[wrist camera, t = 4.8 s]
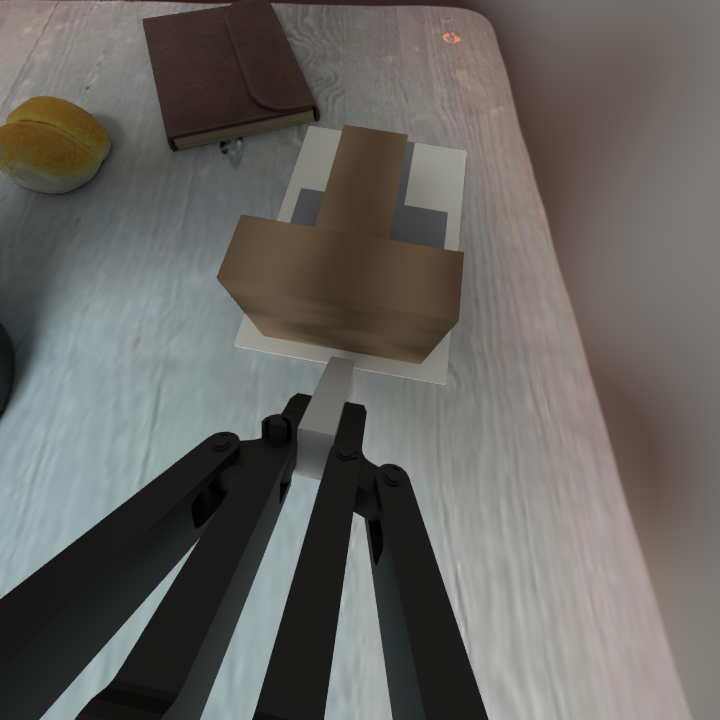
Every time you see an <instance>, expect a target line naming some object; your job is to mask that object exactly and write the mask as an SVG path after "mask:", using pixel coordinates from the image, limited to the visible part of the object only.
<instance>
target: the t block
mask: <svg viewBox="0 0 720 720" xmlns="http://www.w3.org/2000/svg"><path fill="white" fill-rule="evenodd" d="M407 137H408V135H405V134H399V133H392V132H386V131H380V130H374V129H367V128H361V127H355V126H349V125H344V127H343V130H342V134H341V137H340V141H339V144H338V148H337V151H336V154H335V158H334V161H333V165H332V168H331V172H330V175H329V179H328V182H327V186H326V189H325V193H324V196H323V200H322V203H321V206H320V210H319V213H318V217H317V220H316V224H315V227H311V226H305V225H299V224H293V223H287V222H282V221H276V220H270V219H264V218H258V217H252V216H246V215H241V217H240V220H239V222H238V225H237V227H236V230H235V232H234V235H233V237H232V240H231V242H230V245H229V247H228V250H227V253H226V255H225V258H224V260H223V263H222V265H221V268H220V270H219V273H218V275H217V279H218V281H219V282H220V283H221V284H222V285H223V287H224V288H225V289H226V290H227V292H228V293H229V294H230V295H231V297H232V298H233V299H234V300H235V301H236V303H237V304H238V305H239V306H240V308H241V309H242V310H243V311H244V313H245V314H246V315H247V316H248V317H249V319H250V320H251V321H252V322H253V324H254V325H255V326H256V327H257V329H258V330H259V331H260V332H261V333H262V335H263V336H266V337H272V338H277V339H283V340H288V341H294V342H299V343H305V344H310V345H316V346H321V347H327V348H332V349H338V350H343V351H349V352H354V353H360V354H365V355H371V356H376V357H382V358H387V359H393V360H398V361H404V362H409V363H415V364H420V365H421V364H422V362H423V361H424V360H425V359H426V358H427V357H428V356H429V354H430V353H431V352H432V351H433V350H434V349H435V347H436V346H437V345H438V344H439V343H440V342H441V340H442V339H443V338H444V337H445V336H446V335H447V333H448V332H449V331H450V330H451V329H452V328H453V327H454V325H455V324H456V323H457V322H458V320H459V308H460V295H461V283H462V270H463V257H464V252H458V251H452V250H446V249H440V248H435V247H429V246H423V245H417V244H411V243H405V242H399V241H393V240H389V236H390V231H391V225H392V220H393V214H394V209H395V203H396V198H397V192H398V187H399V181H400V176H401V170H402V164H403V159H404V153H405V148H406V142H407Z"/></svg>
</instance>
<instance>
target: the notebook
mask: <svg viewBox="0 0 720 720" xmlns="http://www.w3.org/2000/svg"><path fill="white" fill-rule="evenodd" d="M143 26H144V31H145V36H146V41H147V45H148V50H149V55H150V59H151V64H152V69H153V74H154V78H155V83H156V88H157V93H158V97H159V102H160V107H161V112H162V116H163V121H164V126H165V130H166V135H167V140H168V144H169V146H170V148H171V149H172V150H173V151H174V152H175V151H177V150H181V149H185V148H190V147H195V146H200V145H204V144H209V143H214V142H219V141H224V140H228V139H233V138H238V137H243V136H247V135H252V134H257V133H262V132H266V131H271V130H276V129H281V128H285V127H290V126H295V125H300V124H304V123H309V122H314V121H315V120H314V117H315V119H316V121H319V118H320V113H319V110H318V107H317V105H316V103H315V101H314V98H313V96H312V94H311V92H310V90H309V87H308V85H307V83H306V81H305V78H304V76H303V74H302V72H301V70H300V67H299V65H298V63H297V61H296V59H295V56H294V54H293V52H292V50H291V47H290V45H289V43H288V41H287V39H286V36H285V34H284V32H283V30H282V27H281V25H280V23H279V21H278V19H277V16H276V14H275V12H274V10H273V7H272V5H271V3H270V1H269V0H241V1H238V2H235V3H233V4H231V5H230V6H224V7H217V8H211V9H204V10H198V11H191V12H185V13H178V14H172V15H165V16H159V17H152V18H146V19H143ZM313 115H314V116H313ZM176 149H177V150H176Z"/></svg>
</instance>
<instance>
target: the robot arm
mask: <svg viewBox="0 0 720 720" xmlns="http://www.w3.org/2000/svg"><path fill="white" fill-rule="evenodd" d="M0 161H1V142H0ZM13 362H14V361H13V352H12V347H11V343H10V340H9V338H8V336H7V334H6V332H5V330H4V329H3V327H2V326H1V325H0V412H1V410H2V408H3V405H4V403H5V401H6V398H7V395H8V393H9V389H10V386H11V381H12V376H13ZM354 366H355V361H354V360H349V359H344V358H339V357H333V356H331V358H330V360H329V362H328V364H327V366H326V369H325V371H324V373H323V375H322V377H321V379H320V381H319V384H318V386H317V388H316V390H315V392H314V394H313V396H310V395H305V394H300V393H297V394H296V395H294V396H293V397H291V398H290V400H289V402H288V404H287V406H286V407H285V409H284V411H283V412H282V414H275V415H271V416H268V417H266V418H265V419H264V420H263V421H262V438H260V439H256V440H245V441H240V440H239V437H238V436H237V435H236V434H234V433H231V432H220V433H216V434H213V435H212V436H210V437H208V438H207V439H206V440H204V441H203V442H202V443H200V444H199V445H198V446H197V447H195V448H194V449H193V450H191V451H190V452H189V453H188V454H186V455H185V456H184V457H182V458H181V459H180V460H179V461H177V462H176V463H175V464H173V465H172V466H171V467H170V468H168V469H167V470H166V471H164V472H163V473H162V474H161V475H159V476H158V477H157V478H155V479H154V480H153V481H152V482H150V483H149V484H148V485H146V486H145V487H144V488H143V489H141V490H140V491H139V492H137V493H136V494H135V495H134V496H132V497H131V498H130V499H128V500H127V501H126V502H125V503H123V504H122V505H121V506H119V507H118V508H117V509H116V510H114V511H113V512H112V513H110V514H109V515H108V516H107V517H105V518H104V519H103V520H101V521H100V522H99V523H98V524H96V525H95V526H94V527H92V528H91V529H90V530H89V531H87V532H86V533H85V534H84V535H82V536H81V537H80V538H78V539H77V540H76V541H75V542H73V543H72V544H71V545H69V546H68V547H67V548H66V549H64V550H63V551H62V552H60V553H59V554H58V555H57V556H55V557H54V558H53V559H51V560H50V561H49V562H48V563H46V564H45V565H44V566H42V567H41V568H40V569H39V570H37V571H36V572H35V573H33V574H32V575H31V576H30V577H28V578H27V579H26V580H24V581H23V582H22V583H21V584H19V585H18V586H17V587H15V588H14V589H13V590H12V591H10V592H9V593H8V594H6V595H5V596H4V597H3V598H1V599H0V720H39V719H40V718H41V717H42V716H43V715H44V714H45V713H46V711H47V710H48V709H49V708H50V707H51V706H52V705H53V703H54V702H55V701H56V700H57V699H58V698H59V697H60V696H61V694H62V693H63V692H64V691H65V690H66V689H67V688H68V687H69V685H70V684H71V683H72V682H73V681H74V680H75V679H76V677H77V676H78V675H79V674H80V673H81V672H82V671H83V670H84V668H85V667H86V666H87V665H88V664H89V663H90V662H91V661H92V659H93V658H94V657H95V656H96V655H97V654H98V653H99V651H100V650H101V649H102V648H103V647H104V646H105V645H106V644H107V642H108V641H109V640H110V639H111V638H112V637H113V636H114V635H115V633H116V632H117V631H118V630H119V629H120V628H121V627H122V625H123V624H124V623H125V622H126V621H127V620H128V619H129V618H130V616H131V615H132V614H133V613H134V612H135V611H136V610H137V609H138V607H139V606H140V605H141V604H142V603H143V602H144V601H145V599H146V598H147V597H148V596H149V595H150V594H151V593H152V592H153V590H154V589H155V588H156V587H157V586H158V585H159V584H160V583H161V581H162V580H163V579H164V578H165V577H166V576H167V575H168V573H169V572H170V571H171V570H172V569H173V568H174V567H175V566H176V564H177V563H178V562H179V561H180V560H181V559H182V558H183V557H184V555H185V554H186V553H187V552H188V551H189V550H190V549H191V547H192V546H193V545H194V544H195V543H196V542H197V541H198V540H199V541H198V542H197V544H196V546H195V547H194V549H193V551H192V552H191V554H190V555H189V557H188V559H187V560H186V562H185V564H184V565H183V567H182V569H181V570H180V572H179V574H178V575H177V577H176V578H175V580H174V582H173V583H172V585H171V587H170V588H169V590H168V592H167V593H166V595H165V596H164V598H163V600H162V601H161V603H160V605H159V606H158V608H157V610H156V611H155V613H154V614H153V616H152V618H151V619H150V621H149V623H148V624H147V626H146V628H145V629H144V631H143V632H142V634H141V636H140V637H139V639H138V641H137V642H136V644H135V646H134V647H133V649H132V650H131V652H130V654H129V655H128V657H127V659H126V660H125V662H124V664H123V665H122V667H121V668H120V670H119V672H118V673H117V674H116V676H115V677H114V679H113V680H112V681H111V683H110V684H109V685H108V686H107V687H106V688H105V689H103V690H102V691H101V692H100V693H98V694H97V695H96V696H95V697H93V698H92V699H91V700H90V701H89V702H88V704H87V705H86V706H85V707H84V708H83V709H82V710H81V712H80V713H79V714H78V716H77V717H76V718H75V720H200V718H201V715H202V712H203V710H204V707H205V705H206V702H207V700H208V697H209V694H210V692H211V689H212V687H213V684H214V682H215V679H216V676H217V674H218V671H219V669H220V666H221V664H222V661H223V658H224V656H225V653H226V651H227V648H228V646H229V643H230V640H231V638H232V635H233V633H234V630H235V628H236V625H237V622H238V620H239V617H240V615H241V612H242V609H243V607H244V604H245V602H246V599H247V597H248V594H249V591H250V589H251V586H252V584H253V581H254V579H255V576H256V573H257V571H258V568H259V566H260V563H261V561H262V558H263V555H264V553H265V550H266V548H267V545H268V543H269V540H270V537H271V535H272V532H273V530H274V527H275V525H276V522H277V519H278V517H279V514H280V512H281V509H282V507H283V504H284V501H285V499H286V496H287V494H288V491H289V488H290V486H291V478H292V474H293V472H294V469H295V475H299V476H304V477H309V478H314V479H319V480H321V482H320V486H319V489H318V493H317V496H316V500H315V503H314V507H313V510H312V514H311V517H310V521H309V524H308V528H307V531H306V535H305V538H304V542H303V545H302V549H301V552H300V556H299V559H298V563H297V566H296V570H295V573H294V577H293V580H292V584H291V587H290V591H289V595H288V598H287V602H286V605H285V609H284V612H283V616H282V619H281V623H280V626H279V630H278V633H277V637H276V640H275V644H274V647H273V651H272V654H271V658H270V661H269V665H268V668H267V672H266V675H265V679H264V682H263V686H262V689H261V693H260V696H259V700H258V703H257V706H256V710H255V713H254V716H253V719H252V720H324V715H325V708H326V701H327V694H328V687H329V680H330V673H331V666H332V659H333V652H334V644H335V637H336V630H337V623H338V616H339V609H340V602H341V595H342V588H343V581H344V574H345V567H346V560H347V553H348V546H349V539H350V532H351V525H352V518H353V512H355V513H357V514H359V515H360V516H362V517H364V518H365V525H366V532H367V540H368V547H369V554H370V561H371V568H372V575H373V582H374V589H375V597H376V604H377V611H378V618H379V625H380V632H381V639H382V646H383V653H384V661H385V668H386V675H387V682H388V689H389V696H390V703H391V710H392V718H393V720H488V717H487V713H486V710H485V707H484V704H483V701H482V698H481V695H480V692H479V689H478V686H477V683H476V680H475V677H474V674H473V671H472V668H471V665H470V662H469V659H468V656H467V653H466V650H465V647H464V643H463V640H462V637H461V634H460V631H459V628H458V625H457V622H456V619H455V616H454V613H453V610H452V607H451V604H450V601H449V598H448V595H447V592H446V589H445V586H444V583H443V580H442V576H441V573H440V570H439V567H438V564H437V561H436V558H435V555H434V552H433V549H432V546H431V543H430V540H429V537H428V534H427V531H426V528H425V525H424V522H423V519H422V516H421V513H420V509H419V506H418V503H417V500H416V497H415V494H414V491H413V488H412V485H411V482H410V479H409V477H408V475H407V473H406V472H405V471H404V470H403V469H402V468H401V467H399V466H397V465H394V464H384V465H382V466H380V467H378V466H376V465H374V464H372V463H371V462H369V461H368V460H367V459H366V458H365V456H364V455H363V452H362V442H363V435H364V428H365V421H366V414H367V412H366V409H365V407H364V405H359V404H354V403H349V402H348V400H349V395H350V389H351V383H352V377H353V371H354ZM199 538H200V539H199Z"/></svg>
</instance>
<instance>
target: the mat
mask: <svg viewBox="0 0 720 720" xmlns="http://www.w3.org/2000/svg"><path fill="white" fill-rule="evenodd" d="M341 134H342V131H340V130H333V129H327V128H321V127H315V126H309V127H308V130H307V133H306V136H305V139H304V142H303V145H302V147H301V150H300V153H299V156H298V159H297V162H296V165H295V168H294V171H293V174H292V176H291V179H290V182H289V185H288V188H287V191H286V194H285V197H284V200H283V203H282V206H281V208H280V211H279V214H278V217H277V220H276V221H282V222H287V223H293V224H299V225H305V226H311V227H315V224H316V220H317V217H318V213H319V210H320V206H321V203H322V200H323V196H324V193H325V189H326V186H327V182H328V179H329V175H330V172H331V168H332V165H333V161H334V158H335V154H336V151H337V148H338V144H339V141H340V137H341ZM466 154H467V151H465V150H458V149H452V148H446V147H440V146H433V145H427V144H421V143H413V142H406V148H405V153H404V159H403V164H402V170H401V176H400V181H399V187H398V192H397V198H396V203H395V209H394V214H393V220H392V225H391V231H390V236H389V240H393V241H399V242H405V243H411V244H417V245H423V246H429V247H435V248H440V249H446V250H452V251H458V245H459V234H460V222H461V211H462V199H463V188H464V177H465V165H466ZM450 337H451V330H450V331H449V332H448V333H447V335H446V336H445V337H444V338H443V339H442V340H441V342H440V343H439V344H438V345H437V346H436V347H435V349H434V350H433V351H432V352H431V353H430V354H429V356H428V357H427V358H426V359H425V360H424V361H423V362H422V364H421V365H420V364H415V363H409V362H404V361H398V360H393V359H387V358H382V357H376V356H371V355H365V354H360V353H354V352H349V351H343V350H338V349H332V348H327V347H321V346H316V345H310V344H305V343H299V342H294V341H288V340H283V339H277V338H272V337H266V336H263V335H262V333H261V332H260V331H259V330H258V329H257V327H256V326H255V325H254V324H253V322H252V321H251V320H250V319H249V317H248V316H247V315H246V314H245V313H244V316H243V319H242V322H241V325H240V328H239V330H238V333H237V336H236V339H235V342H234V346H235V347H237V348H243V349H248V350H254V351H259V352H265V353H270V354H276V355H281V356H287V357H292V358H297V359H303V360H308V361H314V362H319V363H325V364H328V362H329V360H330V358H331V356H333V357H339V358H344V359H349V360H354V361H355V366H354V369H358V370H363V371H368V372H374V373H379V374H385V375H390V376H396V377H401V378H407V379H412V380H418V381H423V382H428V383H434V384H439V385H445V384H446V382H447V371H448V359H449V348H450Z"/></svg>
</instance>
